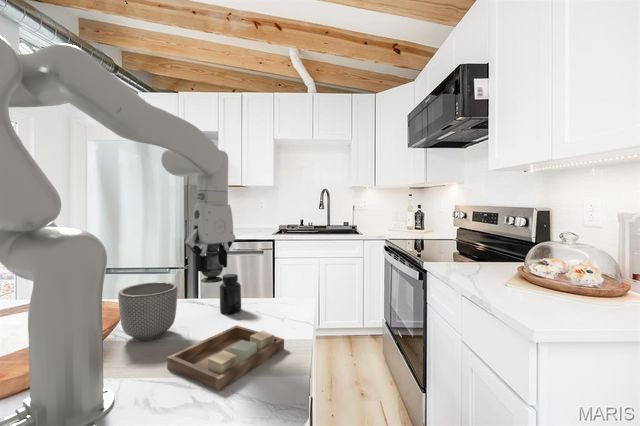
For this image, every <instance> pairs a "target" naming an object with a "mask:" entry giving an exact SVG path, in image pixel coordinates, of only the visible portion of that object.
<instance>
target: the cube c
mask: <svg viewBox="0 0 640 426" xmlns="http://www.w3.org/2000/svg"><path fill="white" fill-rule="evenodd" d="M274 336H275V334H273V333H271V332H268V331H265V330H261V331H258V333H256V334H253V335H251V336H250V342H254V343H257V352H259V351H260V350H262V349H264V348H265V347H267V346H269V345H270V344H272V343H274Z"/></svg>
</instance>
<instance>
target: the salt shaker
mask: <svg viewBox="0 0 640 426" xmlns="http://www.w3.org/2000/svg"><path fill="white" fill-rule="evenodd" d="M219 252H220V251H219V249H218V243H217V244H208V246H207V250H206V253H205V256H207V271H206V272H201V274H202V275H203V278H202V279H200V282H202V283H206V284H213V283H214V284H215V283H219V282H222V280H223V277H219V276H220V275H221V274H222V272H223V270H224V269H223V267H224V266H223V265H221V264H220V263H219V260H218V253H219Z"/></svg>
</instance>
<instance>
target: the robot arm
mask: <svg viewBox="0 0 640 426" xmlns="http://www.w3.org/2000/svg"><path fill="white" fill-rule="evenodd" d="M64 104H70V105H72V106H73V107H75V108H76V109H78V110H79V111H80V112H82V113H84V114H85V115H87V116H88V117H90V118H92V119H93V120H95V121H96V122H98V123H99V124H101V125H102V126H103V127H104V128H106V129H108V130H110V131H111V132H112V133H113V134H115V135H116V136H119V137H121V138H122V139H125V140H129V141H132V142H136V143H141V144H147V145H152V146H157V147H161V148H163V149H165V150H164V151H163V153H162V154H161V157H160V158H161V165H162V166H163V168H164V170H165V171H166V172H168V173H169V174H171V175H172V176H175V177H182V178H183V177H196V193H194V195H193V197H194V199H195V200H196V204H194V208H193V214H192V221H191V222H192V223H191V233H190V234H189V236H187V238H186V240H185V241H184V244H185V245H186V246H187V247H188V248H189V249H190V250H191V251H192V252H193V255H194V256H195V269H196V271H197V272H200V273H202V272H206V271H207V256H206V250H207V246H208V244H217V243H218V251H220V252H219V253H218V260H219V263H220V264H221V265H223V266H224V267H223V268H227V267H228V253H229V252H230V248H231V247H232V245H233V243H234V242H235V240H236V235H235V234H234V221H233V213H232V208H231V204H229V154H227V152H226V151H224V150H220V149H219V148H218V146H217V145H216V143H214V141H213V140H212V139H211V138H210V137H209V136H207V134H205V133H204V132H203V131H201V129H200V128H198V127H197V126H196V125H194V124H193V123H191V122H189V121H188V120H185V119H183V118H182V117H179V116H177V115H174V114H173V113H170V112H169V111H166V110H164V109H163V108H159V107H157V106H154V105H152V104H151V103H148V102H147V101H146V100H145V99H143V98H142V97H141V96H140V95H138V94H137V93H136V92H135V91H134V90H132V89H131V87H129V86H127V85H126V84H125V83H124V82H123V81H122V80H120V79H119V78H118V77H117V76H116V75H115V74H113V73H112V72H111V71H110V70H108V69H107V68H106V67H104V65H102V64H101V63H100V62H98V60H96V59H95V58H94V57H93V56H91V55H90V54H88V52H86V51H84V50H83V49H81V48H79V47H78V46H76V45H74V44H73V45H72V44H68V43H56V44H52V45H47V46H45V47H43V48H40V49H37V50H36V51H34V52H32V53H25V54H24V53H22V54H21V53H19V54H18V53H17V51H16V49H14V48H13V46H12V45H11V44H10V43H9V42H8V41H7V40H6V39H5V38H4V37H2V36H1V35H0V264H1V265H2V266H3V267H5V268H6V270H8V271H9V272H11V274H13V275H15V276H17V277H18V278H19V277H20V278H22V279H25V280H27V281H31V282H32V283H33V284H32V291H31V296H30V300H29V304H28V309H27V310H28V312H27V313H28V315H27V333H28V361H29V362H28V363H29V365H28V366H29V397H28V398H25V399H23V400H22V407H20V408H17V409H15V411H14V413H12V414H11V413H10V414H8V415H6V416H3V417H1V418H0V426H94V425H96V422H98V421H99V420H101V419H102V418H103V417H105V415H107V413H109V412H110V411H111V409H112V407H113V406H114V404H115V395H114V392H113V391H112V390H111V389H109V388H105V386H104V337H103V335H104V334H103V333H104V331H103V329H104V328H103V292H104V291H103V290H104V283H105V277H106V272H107V266H108V255H107V249H106V248H105V245H104V244H103V242H102V241H101V240H100V239H99V238H98V237H97V236H95V235H94V234H93V233H90V232H89V231H86V230H82V229H78V228H72V227H71V228H70V227H62V226H61V227H58V226H57V224H56V223H55V222H54V221H55V220H56V219H57V218H58V217H59V215H60V213H61V211H62V200H61V197H60V194H59V192H58V191H57V189H56V187H55V186H54V184H52V182H51V181H50V179H49V178H48V177H47V175H46V173H44V171H43V170H42V169H41V167H40V166H39V165H38V163H37V162H36V160H35V159H34V158H33V156H32V155H31V153H30V152H29V151H28V150H27V148H26V146H25V145H24V143H23V141H22V140H21V138H20V137H19V135H18V133H17V131H16V130H15V128H14V126H13V124H12V121H11V118H10V114H9V113H10V112H9V111H10V110H9V108H38V107H39V108H41V107H44V108H45V107H53V106H54V107H55V106H57V107H58V106H62V105H64Z"/></svg>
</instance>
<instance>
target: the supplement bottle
mask: <svg viewBox="0 0 640 426" xmlns="http://www.w3.org/2000/svg"><path fill="white" fill-rule="evenodd" d="M222 279H223V280H222V281H221V282H222V283H221V284H220V285H219V312H220V313H221V314H223V315H233V314H237V313H240V311H241V310H242V285H241V283H240V282H238V281H239V280H238V274H237V273H227V274H224V275H222Z"/></svg>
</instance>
